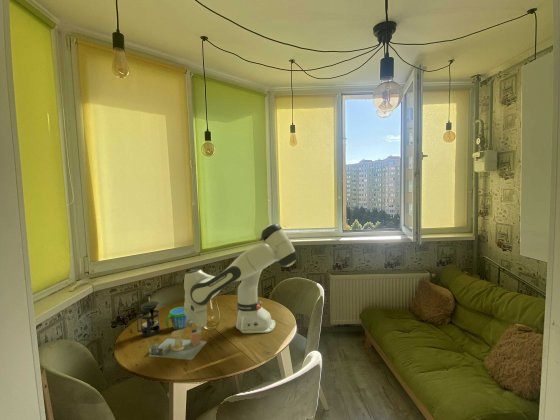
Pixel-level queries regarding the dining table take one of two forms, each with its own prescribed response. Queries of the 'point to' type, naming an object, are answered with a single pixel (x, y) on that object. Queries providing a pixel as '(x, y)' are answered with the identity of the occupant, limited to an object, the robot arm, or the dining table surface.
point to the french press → (149, 318)
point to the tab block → (195, 337)
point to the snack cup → (177, 318)
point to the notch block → (159, 350)
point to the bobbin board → (183, 353)
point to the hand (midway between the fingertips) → (195, 329)
